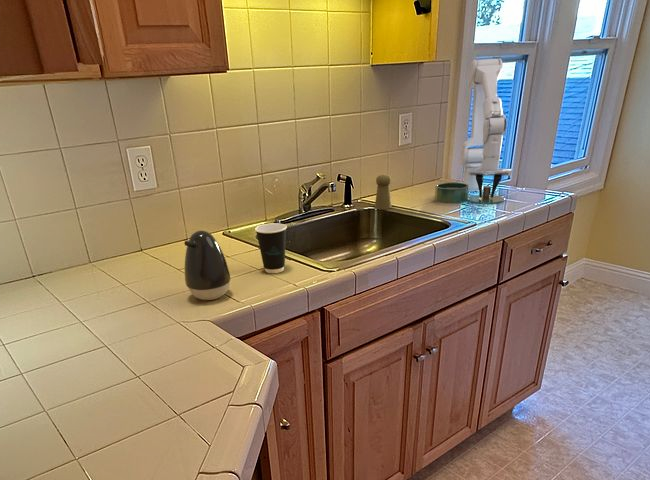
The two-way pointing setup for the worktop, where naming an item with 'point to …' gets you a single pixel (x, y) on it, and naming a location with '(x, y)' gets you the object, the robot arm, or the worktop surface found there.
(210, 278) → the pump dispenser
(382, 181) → the beige peg figure
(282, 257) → the dixie cup
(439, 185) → the green pot
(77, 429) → the worktop surface
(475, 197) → the lid
